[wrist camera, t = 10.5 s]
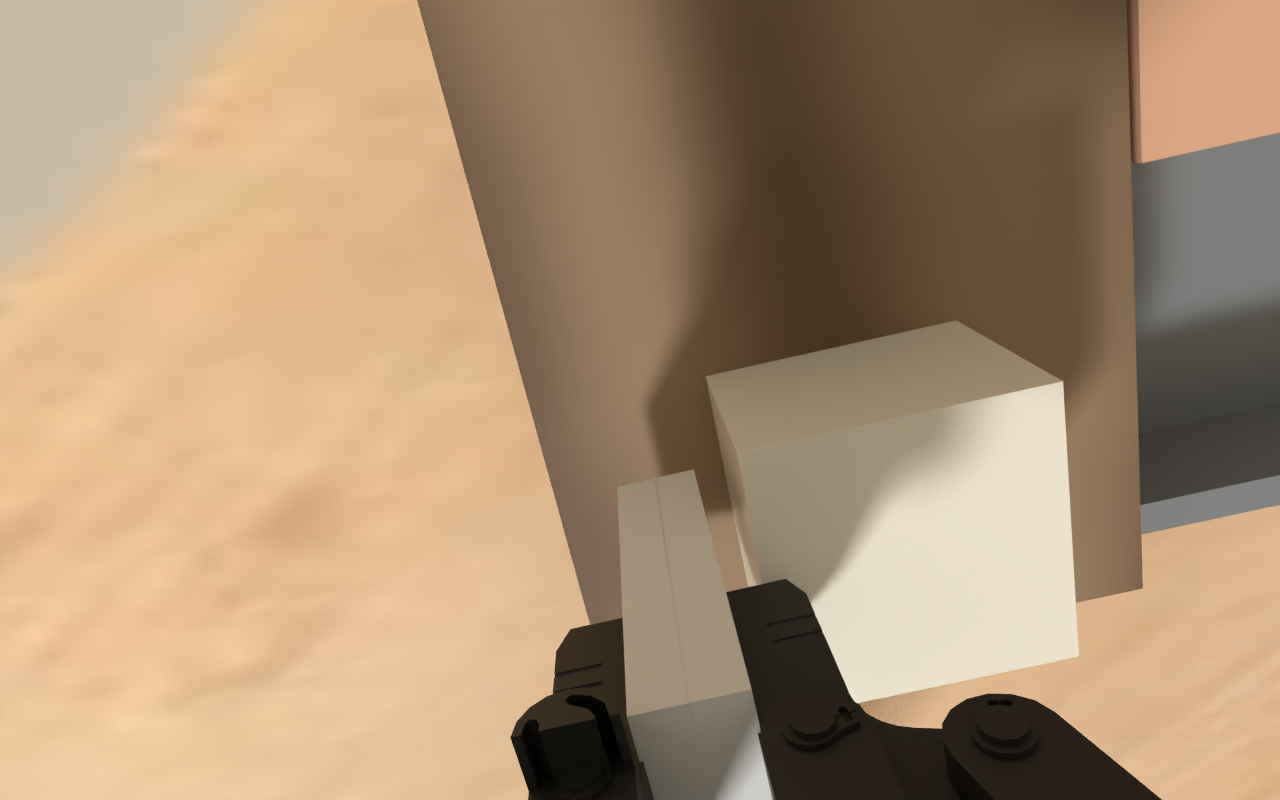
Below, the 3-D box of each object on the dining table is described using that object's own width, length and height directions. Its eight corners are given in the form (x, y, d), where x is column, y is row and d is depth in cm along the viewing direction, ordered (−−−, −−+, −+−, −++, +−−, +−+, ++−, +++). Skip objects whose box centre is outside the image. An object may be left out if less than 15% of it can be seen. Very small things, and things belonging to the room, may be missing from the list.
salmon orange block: (1004, -70, 19) (1177, -111, 19) (1018, 152, 21) (1179, 116, 21) (1135, -131, 15) (1366, -184, 14) (1141, 163, 16) (1349, 117, 16)
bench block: (965, -152, 19) (1119, -265, 14) (1015, 477, 24) (1142, 588, 19) (452, -31, 20) (392, -92, 14) (608, 566, 25) (611, 701, 19)
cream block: (956, 320, 16) (1062, 381, 13) (978, 543, 18) (1078, 656, 14) (705, 376, 17) (736, 453, 13) (749, 592, 18) (788, 718, 14)
